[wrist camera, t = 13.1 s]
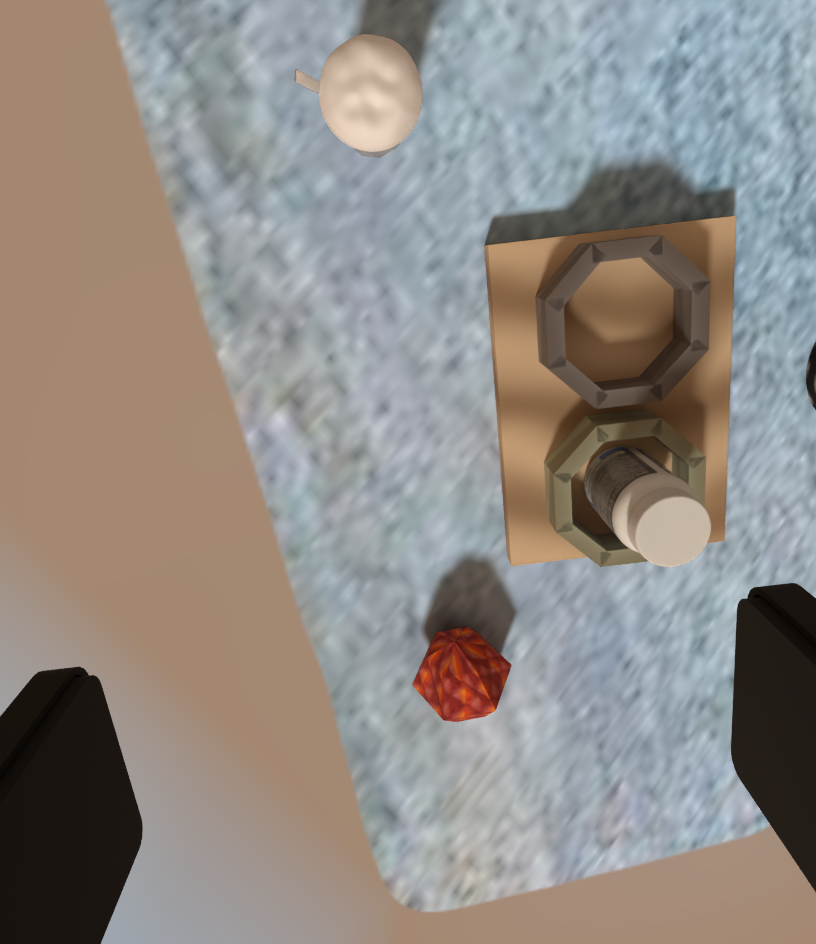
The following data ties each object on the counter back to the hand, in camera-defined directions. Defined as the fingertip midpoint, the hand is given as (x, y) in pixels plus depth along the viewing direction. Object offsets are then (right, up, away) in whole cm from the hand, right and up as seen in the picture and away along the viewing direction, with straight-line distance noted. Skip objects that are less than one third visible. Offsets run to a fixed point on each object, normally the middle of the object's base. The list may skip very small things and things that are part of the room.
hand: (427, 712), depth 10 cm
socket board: (+12, +8, +33) cm, 36 cm away
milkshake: (-3, +23, +28) cm, 36 cm away
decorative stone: (+3, -9, +38) cm, 40 cm away
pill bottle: (+13, +3, +33) cm, 36 cm away
